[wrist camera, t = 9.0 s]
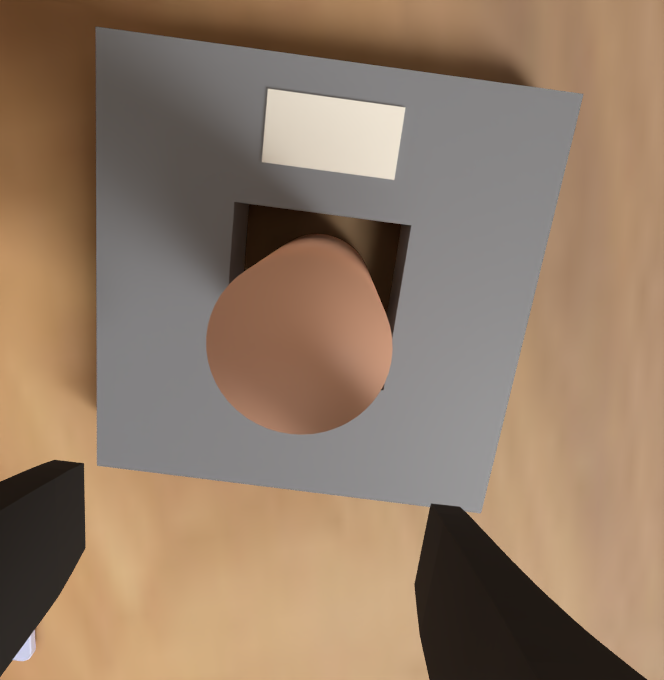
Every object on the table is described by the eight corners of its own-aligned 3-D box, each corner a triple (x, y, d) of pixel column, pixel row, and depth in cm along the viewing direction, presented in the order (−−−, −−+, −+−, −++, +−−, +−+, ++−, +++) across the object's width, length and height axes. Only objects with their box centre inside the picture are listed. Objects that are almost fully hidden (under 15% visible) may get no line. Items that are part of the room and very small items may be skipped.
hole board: (126, 433, 20) (95, 467, 17) (132, 53, 16) (93, 25, 14) (464, 476, 20) (481, 514, 18) (547, 110, 16) (584, 93, 14)
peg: (259, 333, 19) (201, 423, 11) (269, 227, 18) (211, 243, 10) (362, 346, 19) (377, 444, 11) (378, 241, 18) (406, 268, 10)
